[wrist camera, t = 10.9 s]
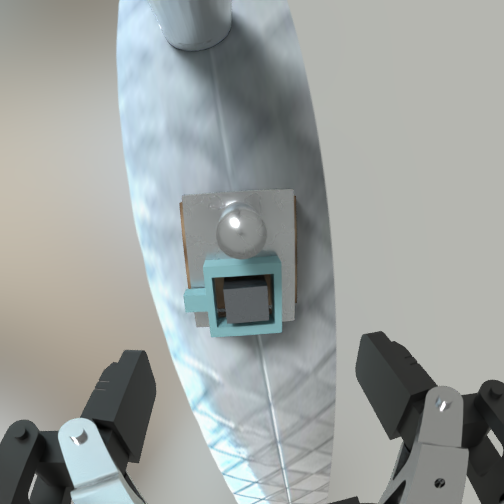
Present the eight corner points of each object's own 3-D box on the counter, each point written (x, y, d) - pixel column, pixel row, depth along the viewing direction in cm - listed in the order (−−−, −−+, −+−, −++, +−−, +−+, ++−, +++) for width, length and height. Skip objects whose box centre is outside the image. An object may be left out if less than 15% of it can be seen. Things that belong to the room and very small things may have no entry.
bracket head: (183, 261, 31) (179, 268, 29) (277, 255, 32) (281, 262, 29) (192, 327, 33) (189, 337, 31) (278, 322, 34) (282, 332, 32)
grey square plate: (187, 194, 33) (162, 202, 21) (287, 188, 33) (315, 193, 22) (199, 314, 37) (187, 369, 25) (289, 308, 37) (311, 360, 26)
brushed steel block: (224, 268, 35) (223, 289, 29) (260, 265, 36) (267, 285, 29) (227, 297, 36) (227, 323, 30) (262, 294, 37) (269, 320, 30)
